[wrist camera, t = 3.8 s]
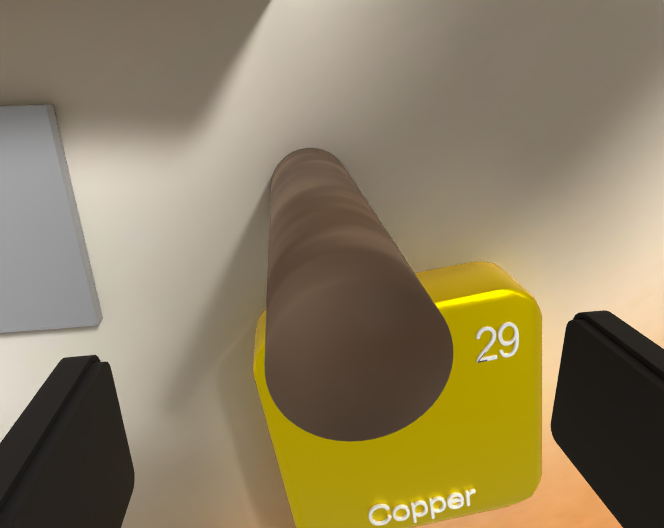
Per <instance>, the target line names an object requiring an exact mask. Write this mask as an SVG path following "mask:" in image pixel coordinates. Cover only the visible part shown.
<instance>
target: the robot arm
mask: <svg viewBox="0 0 664 528" xmlns="http://www.w3.org/2000/svg"><path fill="white" fill-rule="evenodd" d="M551 431H552V435H553V437H554V440H555V441H556V443H557V444H558V445H559V447H560V448H561V449H562V450H563V452H564V453H565V454H566V456H567V457H568V458H569V459H570V461H571V462H572V463H573V464H574V466H575V467H576V468H577V470H578V471H579V472H580V473H581V475H582V476H583V477H584V478H585V480H586V481H587V482H588V484H589V485H590V486H591V487H592V489H593V490H594V491H595V492H596V494H597V495H598V496H599V498H600V499H601V500H602V501H603V503H604V504H605V505H606V506H607V508H608V509H609V510H610V512H611V513H612V514H613V515H614V517H615V518H616V519H617V520H618V522H619V523H620V524H621V526H622V527H623V528H664V349H663V348H661V347H660V346H658V345H657V344H655V343H654V342H653V341H651V340H650V339H648V338H647V337H645V336H644V335H642V334H641V333H640V332H638V331H637V330H635V329H634V328H632V327H631V326H629V325H628V324H627V323H625V322H624V321H622V320H621V319H619V318H618V317H616V316H615V315H614V314H612V313H611V312H609V311H593V312H581V313H578V314H576V315H575V317H574V318H573V320H571V321H569V322H568V324H567V326H566V331H565V338H564V344H563V350H562V356H561V363H560V369H559V375H558V382H557V388H556V394H555V400H554V407H553V413H552V419H551ZM133 488H134V468H133V464H132V459H131V455H130V451H129V446H128V442H127V437H126V433H125V429H124V424H123V420H122V415H121V411H120V406H119V402H118V398H117V393H116V389H115V384H114V380H113V375H112V371H111V367H110V365H109V363H108V362H100V359H99V358H98V356H96V355H90V356H78V357H67V358H63V359H62V360H61V361H60V362H59V363H58V365H57V366H56V367H55V369H54V370H53V372H52V373H51V374H50V376H49V377H48V378H47V380H46V381H45V383H44V384H43V385H42V387H41V388H40V389H39V391H38V392H37V393H36V395H35V396H34V398H33V399H32V400H31V402H30V403H29V404H28V406H27V407H26V409H25V410H24V411H23V413H22V414H21V415H20V417H19V418H18V420H17V421H16V422H15V424H14V425H13V426H12V428H11V429H10V431H9V432H8V433H7V435H6V436H5V437H4V439H3V440H2V442H1V443H0V528H121V525H122V522H123V519H124V516H125V513H126V510H127V507H128V504H129V501H130V498H131V495H132V492H133Z"/></svg>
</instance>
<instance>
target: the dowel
mask: <svg viewBox="0 0 664 528" xmlns="http://www.w3.org/2000/svg"><path fill="white" fill-rule="evenodd" d="M452 364H453V342H452V336H451V333H450V330H449V327H448V325H447V323H446V321H445V319H444V317H443V315H442V314H441V312H440V311H439V309H438V308H437V306H436V305H435V303H434V302H433V300H432V299H431V297H430V296H429V294H428V293H427V291H426V290H425V288H424V287H423V285H422V284H421V282H420V281H419V279H418V278H417V276H416V275H415V273H414V272H413V270H412V269H411V267H410V266H409V264H408V263H407V261H406V260H405V258H404V257H403V255H402V254H401V252H400V251H399V249H398V248H397V246H396V245H395V243H394V242H393V240H392V239H391V237H390V236H389V234H388V233H387V231H386V229H385V228H384V226H383V225H382V223H381V222H380V220H379V219H378V217H377V216H376V214H375V213H374V211H373V210H372V208H371V207H370V205H369V204H368V202H367V201H366V199H365V198H364V196H363V195H362V193H361V192H360V190H359V189H358V187H357V186H356V184H355V183H354V181H353V180H352V178H351V177H350V175H349V174H348V172H347V171H346V169H345V168H344V166H343V165H342V163H341V162H340V161H339V160H338V159H337V158H336V157H335V156H333V155H332V154H330V153H329V152H326V151H324V150H321V149H316V148H305V149H300V150H297V151H294V152H292V153H291V154H289V155H287V156H286V157H285V158H284V159H283V160H282V161H281V162H280V163H279V164H278V166H277V167H276V169H275V171H274V173H273V176H272V180H271V196H270V224H269V251H268V278H267V306H266V333H265V361H264V369H265V379H266V385H267V388H268V391H269V393H270V396H271V398H272V400H273V401H274V403H275V405H276V406H277V408H278V409H279V410H280V412H281V413H282V414H283V415H284V416H285V417H286V418H287V419H288V420H289V421H291V422H292V423H293V424H295V425H296V426H297V427H299V428H301V429H303V430H304V431H306V432H308V433H311V434H313V435H315V436H318V437H322V438H325V439H330V440H336V441H348V442H352V441H365V440H371V439H376V438H380V437H384V436H386V435H389V434H392V433H394V432H397V431H399V430H401V429H403V428H405V427H406V426H408V425H410V424H411V423H413V422H414V421H416V420H417V419H418V418H419V417H421V416H422V415H423V414H424V413H425V412H426V411H427V410H428V409H429V408H430V407H431V406H432V405H433V404H434V403H435V401H436V400H437V399H438V398H439V396H440V395H441V393H442V391H443V390H444V388H445V386H446V384H447V381H448V379H449V376H450V373H451V369H452Z"/></svg>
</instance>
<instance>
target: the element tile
mask: <svg viewBox="0 0 664 528" xmlns="http://www.w3.org/2000/svg"><path fill="white" fill-rule="evenodd" d="M415 275H416V276H417V278H418V279H419V281H420V282H421V284H422V285H423V287H424V288H425V290H426V291H427V293H428V294H429V296H430V297H431V299H432V300H433V302H434V303H435V305H436V306H437V308H438V309H439V311H440V312H441V314H442V315H443V317H444V319H445V321H446V323H447V325H448V327H449V330H450V333H451V336H452V342H453V364H452V369H451V373H450V376H449V379H448V381H447V384H446V386H445V388H444V390H443V391H442V393H441V395H440V396H439V398H438V399H437V400H436V401H435V403H434V404H433V405H432V406H431V407H430V408H429V409H428V410H427V411H426V412H425V413H424V414H423V415H422V416H421V417H419V418H418V419H417V420H416V421H414V422H413V423H411V424H410V425H408V426H406V427H405V428H403V429H401V430H399V431H397V432H394V433H392V434H389V435H386V436H384V437H380V438H376V439H371V440H365V441H352V442H348V441H336V440H330V439H325V438H322V437H318V436H315V435H313V434H311V433H308V432H306V431H304V430H303V429H301V428H299V427H297V426H296V425H295V424H293V423H292V422H291V421H289V420H288V419H287V418H286V417H285V416H284V415H283V414H282V413H281V412H280V410H279V409H278V408H277V406H276V405H275V403H274V401H273V400H272V398H271V396H270V393H269V391H268V388H267V385H266V379H265V369H264V361H265V333H266V309H265V310H264V312H263V313H262V315H261V316H260V317H259V319H258V322H257V327H256V333H255V347H254V361H253V374H254V378H255V382H256V385H257V389H258V393H259V396H260V400H261V403H262V407H263V411H264V414H265V418H266V421H267V425H268V429H269V432H270V436H271V440H272V443H273V447H274V450H275V454H276V458H277V461H278V465H279V469H280V472H281V476H282V479H283V483H284V487H285V490H286V494H287V498H288V501H289V505H290V508H291V512H292V516H293V519H294V523H295V526H296V528H412V527H417V526H421V525H426V524H431V523H435V522H440V521H444V520H449V519H453V518H458V517H463V516H467V515H472V514H476V513H481V512H485V511H490V510H494V509H499V508H504V507H508V506H511V505H514V504H517V503H519V502H521V501H523V500H525V499H527V498H529V497H531V496H532V495H533V493H534V491H535V490H536V489H537V487H538V485H539V482H540V480H541V475H542V315H541V311H540V308H539V306H538V304H537V302H536V300H535V298H534V297H533V296H532V295H531V294H530V293H529V292H528V291H527V290H526V289H524V288H523V287H522V286H521V285H520V284H519V283H518V282H517V281H515V280H514V279H513V278H512V277H511V276H510V275H509V274H508V273H507V272H505V271H504V270H503V269H502V268H500V267H499V266H497V265H496V264H493V263H488V262H483V261H481V262H469V263H464V264H459V265H454V266H449V267H444V268H439V269H434V270H429V271H424V272H419V273H415Z"/></svg>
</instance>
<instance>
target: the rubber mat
mask: <svg viewBox="0 0 664 528" xmlns="http://www.w3.org/2000/svg"><path fill="white" fill-rule="evenodd" d="M102 319H103V317H102V313H101V309H100V304H99V300H98V296H97V292H96V287H95V283H94V279H93V274H92V270H91V266H90V261H89V257H88V253H87V249H86V244H85V240H84V236H83V231H82V227H81V223H80V218H79V214H78V210H77V205H76V201H75V197H74V193H73V188H72V184H71V180H70V175H69V171H68V167H67V162H66V158H65V154H64V150H63V145H62V141H61V137H60V132H59V128H58V124H57V119H56V115H55V111H54V106H53V104H40V105H13V106H0V333H7V332H20V331H33V330H46V329H59V328H73V327H86V326H98V325H99V323H100V322H101V320H102Z"/></svg>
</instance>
